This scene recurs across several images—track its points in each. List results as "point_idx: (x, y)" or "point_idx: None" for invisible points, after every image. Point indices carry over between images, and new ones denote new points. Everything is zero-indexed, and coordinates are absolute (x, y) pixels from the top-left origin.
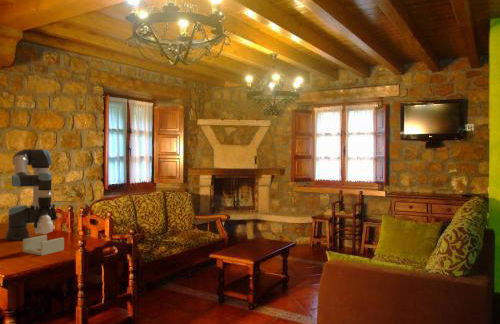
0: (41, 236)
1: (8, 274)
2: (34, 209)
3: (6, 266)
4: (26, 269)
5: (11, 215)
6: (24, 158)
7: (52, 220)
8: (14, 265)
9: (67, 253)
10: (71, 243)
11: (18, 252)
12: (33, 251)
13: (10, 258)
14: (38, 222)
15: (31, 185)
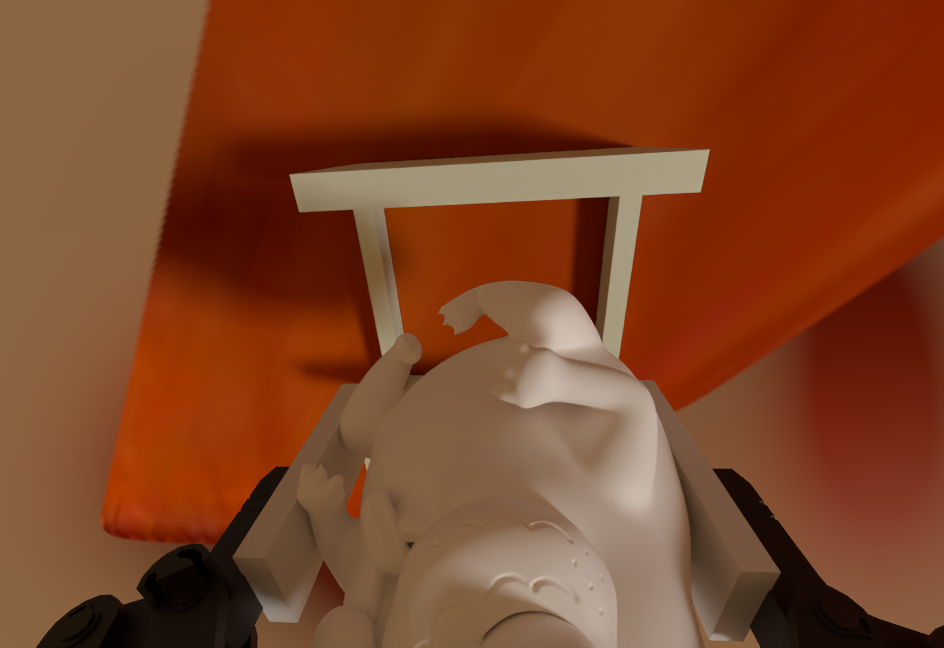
0: (589, 196)
1: (116, 524)
2: None
3: (130, 426)
4: (202, 526)
5: None
6: None
7: (720, 636)
8: (173, 442)
9: None
10: (896, 240)
11: (322, 137)
12: (376, 316)
13: (195, 285)
14: (368, 524)
15: None
